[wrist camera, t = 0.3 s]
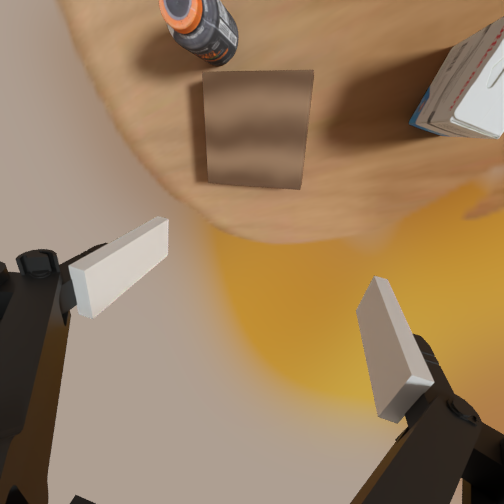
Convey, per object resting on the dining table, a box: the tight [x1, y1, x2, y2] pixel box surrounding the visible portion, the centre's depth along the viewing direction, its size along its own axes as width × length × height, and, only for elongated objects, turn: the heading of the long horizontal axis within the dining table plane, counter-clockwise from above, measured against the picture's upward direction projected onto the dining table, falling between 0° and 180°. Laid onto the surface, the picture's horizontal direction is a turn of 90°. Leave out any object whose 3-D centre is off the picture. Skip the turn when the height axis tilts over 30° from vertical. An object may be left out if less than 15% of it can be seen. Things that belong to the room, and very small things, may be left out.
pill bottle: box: [159, 0, 238, 66], centre depth 28 cm, size 6×6×11 cm
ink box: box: [409, 16, 504, 139], centre depth 25 cm, size 8×5×12 cm, turn 161°
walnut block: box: [202, 70, 314, 190], centre depth 35 cm, size 14×14×4 cm
